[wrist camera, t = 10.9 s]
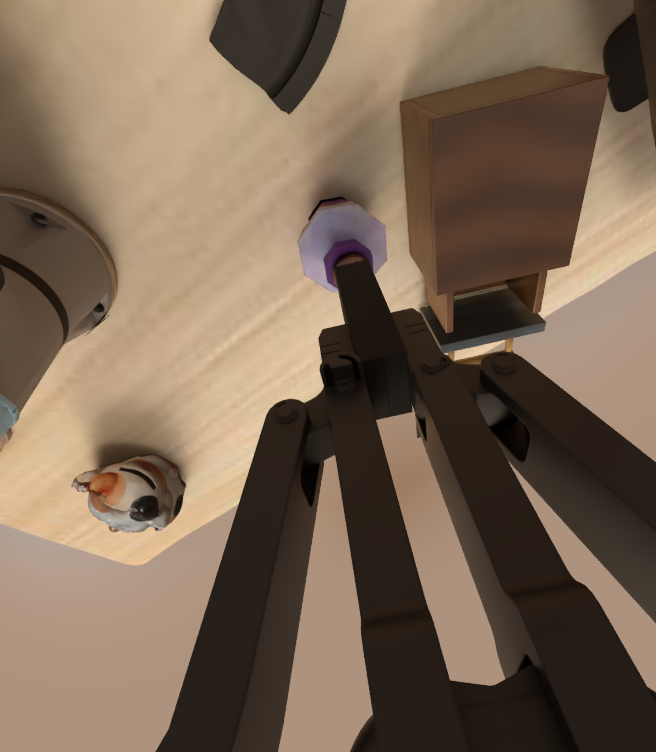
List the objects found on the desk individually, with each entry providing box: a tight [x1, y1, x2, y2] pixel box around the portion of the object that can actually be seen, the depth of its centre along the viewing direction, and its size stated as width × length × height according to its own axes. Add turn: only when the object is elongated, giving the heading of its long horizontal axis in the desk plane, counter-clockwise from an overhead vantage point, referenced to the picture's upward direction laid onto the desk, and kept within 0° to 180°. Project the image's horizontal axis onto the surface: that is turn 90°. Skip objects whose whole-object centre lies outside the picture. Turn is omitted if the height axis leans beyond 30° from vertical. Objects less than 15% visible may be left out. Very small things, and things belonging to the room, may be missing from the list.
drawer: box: [420, 270, 548, 364], centre depth 44 cm, size 20×11×8 cm, turn 11°
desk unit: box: [400, 66, 610, 296], centre depth 37 cm, size 15×13×10 cm
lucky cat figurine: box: [72, 455, 186, 533], centre depth 59 cm, size 15×12×14 cm
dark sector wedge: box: [209, 0, 346, 114], centre depth 30 cm, size 8×14×2 cm, turn 141°
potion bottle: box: [298, 197, 387, 292], centre depth 38 cm, size 9×9×12 cm
